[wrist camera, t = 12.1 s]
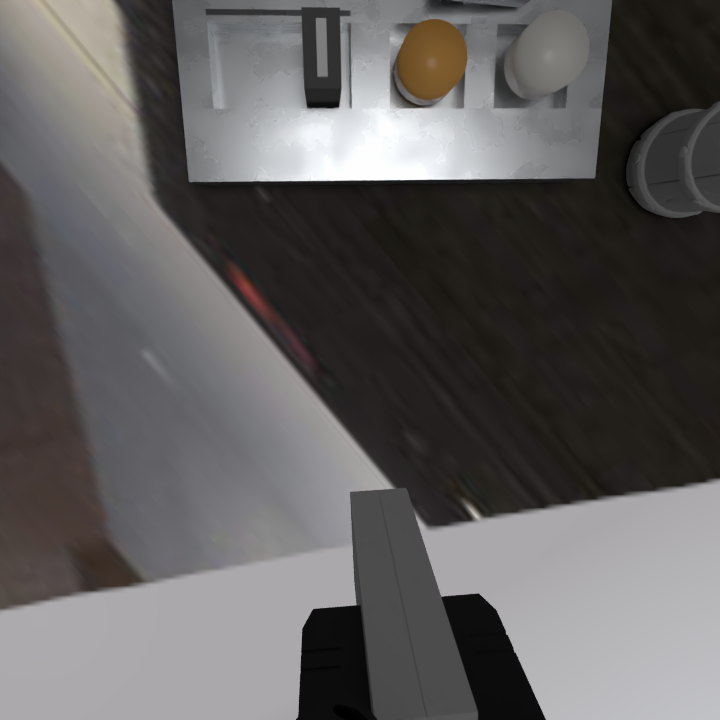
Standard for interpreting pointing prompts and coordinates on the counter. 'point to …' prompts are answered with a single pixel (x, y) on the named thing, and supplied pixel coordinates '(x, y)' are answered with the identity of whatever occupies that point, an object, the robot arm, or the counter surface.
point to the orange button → (430, 61)
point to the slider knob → (321, 56)
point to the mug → (678, 164)
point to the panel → (377, 98)
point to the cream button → (546, 55)
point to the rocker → (499, 2)
